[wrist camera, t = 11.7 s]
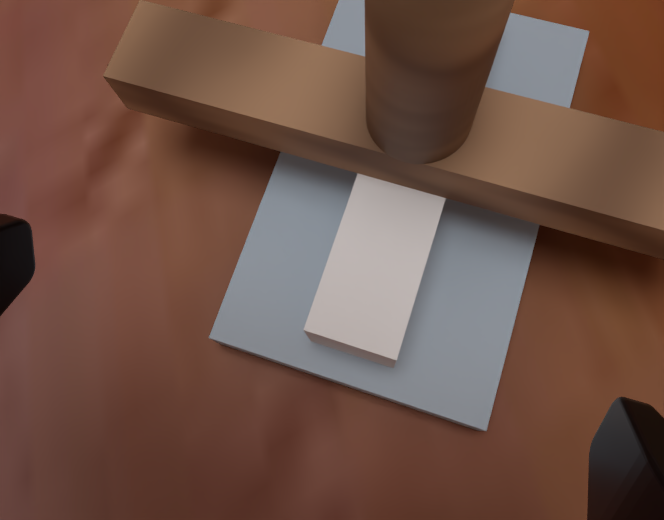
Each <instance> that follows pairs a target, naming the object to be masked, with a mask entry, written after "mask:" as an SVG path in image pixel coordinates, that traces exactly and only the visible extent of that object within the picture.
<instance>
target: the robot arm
mask: <svg viewBox="0 0 664 520" xmlns="http://www.w3.org/2000/svg"><path fill="white" fill-rule="evenodd" d="M34 271H35V257H34V247H33V237H32V230H31V227H30V225H29V223H28V222H27V221H25V220H23V219H20V218H16V217H13V216H10V215H6V214H0V316H1V315H2V314H3V312H4V311H5V310H6V309H7V308H8V306H9V305H10V304H11V303H12V302H13V301H14V299H15V298H16V297H17V296H18V295H19V294H20V292H21V291H22V290H23V289H24V288H25V286H26V285H27V284H28V283H29V282H30V280H31V279H32V277H33V274H34ZM587 520H664V418H663V417H662V416H661V415H660V414H659V413H658V412H657V411H656V410H655V409H654V408H653V407H652V406H651V405H649V404H646V403H643V402H639V401H636V400H632V399H629V398H626V397H619V398H617V399H616V400H615V401H614V402H613V403H612V405H611V407H610V408H609V410H608V412H607V414H606V416H605V418H604V419H603V421H602V423H601V425H600V427H599V429H598V431H597V432H596V434H595V436H594V438H593V440H592V443H591V447H590V453H589V478H588V514H587Z"/></svg>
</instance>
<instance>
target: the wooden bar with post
mask: <svg viewBox="0 0 664 520" xmlns="http://www.w3.org/2000/svg"><path fill="white" fill-rule="evenodd" d="M513 3H514V0H365V56H361V55H357V54H353V53H349V52H345V51H341V50H337V49H333V48H329V47H325V46H321V45H317V44H313V43H309V42H305V41H302V40H298V39H294V38H290V37H286V36H282V35H278V34H274V33H270V32H266V31H262V30H258V29H254V28H250V27H246V26H242V25H238V24H234V23H230V22H226V21H222V20H218V19H214V18H210V17H206V16H203V15H199V14H195V13H191V12H187V11H183V10H179V9H175V8H171V7H167V6H163V5H159V4H155V3H151V2H147V1H143V0H140V1H139V3H138V5H137V7H136V9H135V11H134V13H133V15H132V17H131V19H130V21H129V23H128V25H127V28H126V30H125V32H124V34H123V36H122V38H121V40H120V42H119V44H118V46H117V48H116V50H115V52H114V54H113V56H112V58H111V60H110V63H109V65H108V67H107V69H106V71H105V73H104V75H103V77H104V78H105V79H106V81H107V82H108V83H109V85H110V86H111V87H112V89H113V90H114V91H115V93H116V94H117V95H118V96H119V98H120V99H121V100H122V102H123V103H124V104H125V106H126V107H127V108H128V109H132V110H135V111H139V112H142V113H146V114H149V115H153V116H156V117H160V118H163V119H167V120H171V121H174V122H178V123H181V124H185V125H188V126H192V127H195V128H199V129H202V130H206V131H210V132H213V133H217V134H220V135H224V136H227V137H231V138H234V139H238V140H241V141H245V142H248V143H252V144H256V145H259V146H263V147H266V148H270V149H273V150H277V151H280V152H284V153H287V154H291V155H295V156H298V157H302V158H305V159H309V160H312V161H316V162H319V163H323V164H326V165H330V166H334V167H337V168H341V169H344V170H348V171H351V172H355V173H358V174H362V175H365V176H369V177H372V178H376V179H380V180H383V181H387V182H390V183H394V184H397V185H401V186H404V187H408V188H411V189H415V190H419V191H422V192H426V193H429V194H433V195H436V196H440V197H443V198H447V199H450V200H454V201H458V202H461V203H465V204H468V205H472V206H475V207H479V208H482V209H486V210H489V211H493V212H496V213H500V214H504V215H507V216H511V217H514V218H518V219H521V220H525V221H528V222H532V223H535V224H539V225H543V226H546V227H550V228H553V229H557V230H560V231H564V232H567V233H571V234H574V235H578V236H582V237H585V238H589V239H592V240H596V241H599V242H603V243H606V244H610V245H613V246H617V247H621V248H624V249H628V250H631V251H635V252H638V253H642V254H645V255H649V256H652V257H656V258H659V259H663V260H664V132H662V131H658V130H654V129H650V128H646V127H642V126H638V125H634V124H630V123H626V122H622V121H618V120H614V119H610V118H606V117H602V116H599V115H595V114H591V113H587V112H583V111H579V110H575V109H571V108H567V107H563V106H559V105H555V104H551V103H547V102H543V101H539V100H535V99H531V98H527V97H523V96H519V95H515V94H511V93H507V92H503V91H500V90H496V89H492V88H488V87H485V86H486V83H487V80H488V77H489V74H490V71H491V68H492V65H493V62H494V59H495V56H496V53H497V50H498V47H499V45H500V42H501V39H502V36H503V33H504V30H505V27H506V24H507V21H508V18H509V15H510V12H511V9H512V6H513Z"/></svg>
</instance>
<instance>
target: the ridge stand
mask: <svg viewBox="0 0 664 520" xmlns="http://www.w3.org/2000/svg"><path fill="white" fill-rule="evenodd" d="M588 35H589V31H586V30H582V29H578V28H573V27H569V26H565V25H561V24H556V23H552V22H548V21H543V20H539V19H535V18H530V17H526V16H522V15H518V14H513V13H510V15H509V18H508V21H507V24H506V27H505V30H504V33H503V36H502V39H501V42H500V45H499V47H498V50H497V53H496V56H495V59H494V62H493V65H492V68H491V71H490V74H489V77H488V80H487V83H486V86H485V87H488V88H492V89H496V90H500V91H503V92H507V93H511V94H515V95H519V96H523V97H527V98H531V99H535V100H539V101H543V102H547V103H551V104H555V105H559V106H563V107H567V108H570V105H571V101H572V97H573V93H574V89H575V85H576V81H577V77H578V74H579V70H580V66H581V62H582V58H583V54H584V50H585V46H586V42H587V39H588ZM322 46H325V47H329V48H333V49H337V50H341V51H345V52H349V53H353V54H357V55H361V56H365V0H339V2H338V4H337V7H336V9H335V12H334V15H333V17H332V20H331V22H330V25H329V28H328V30H327V33H326V35H325V38H324V41H323V43H322ZM538 229H539V224H535V223H532V222H528V221H525V220H521V219H518V218H514V217H511V216H507V215H504V214H500V213H496V212H493V211H489V210H486V209H482V208H479V207H475V206H472V205H468V204H465V203H461V202H458V201H454V200H450V199H447V198H443V197H440V196H436V195H433V194H429V193H426V192H422V191H419V190H415V189H411V188H408V187H404V186H401V185H397V184H394V183H390V182H387V181H383V180H380V179H376V178H372V177H369V176H365V175H362V174H358V173H355V172H351V171H348V170H344V169H341V168H337V167H334V166H330V165H326V164H323V163H319V162H316V161H312V160H309V159H305V158H302V157H298V156H295V155H291V154H287V153H284V152H280V154H279V157H278V160H277V162H276V165H275V167H274V170H273V173H272V175H271V178H270V180H269V183H268V186H267V188H266V191H265V193H264V196H263V198H262V201H261V204H260V206H259V209H258V211H257V214H256V217H255V219H254V222H253V224H252V227H251V230H250V232H249V235H248V237H247V240H246V243H245V245H244V248H243V250H242V253H241V255H240V258H239V261H238V263H237V266H236V268H235V271H234V274H233V276H232V279H231V281H230V284H229V287H228V289H227V292H226V294H225V297H224V300H223V302H222V305H221V307H220V310H219V312H218V315H217V318H216V320H215V323H214V325H213V328H212V331H211V333H210V336H209V338H210V339H212V340H214V341H216V342H217V343H219V344H222V345H225V346H228V347H231V348H234V349H237V350H240V351H243V352H246V353H249V354H252V355H255V356H258V357H261V358H264V359H267V360H270V361H273V362H276V363H279V364H281V365H284V366H287V367H290V368H293V369H296V370H299V371H302V372H305V373H308V374H311V375H314V376H317V377H320V378H323V379H326V380H329V381H332V382H335V383H338V384H341V385H344V386H347V387H350V388H353V389H356V390H359V391H362V392H365V393H368V394H371V395H374V396H377V397H380V398H383V399H386V400H389V401H391V402H394V403H397V404H400V405H403V406H406V407H409V408H412V409H415V410H418V411H421V412H424V413H427V414H430V415H433V416H436V417H439V418H442V419H445V420H448V421H451V422H454V423H457V424H460V425H463V426H466V427H469V428H472V429H475V430H478V431H487V427H488V423H489V419H490V415H491V411H492V408H493V404H494V400H495V396H496V392H497V388H498V384H499V380H500V377H501V373H502V369H503V365H504V361H505V357H506V353H507V349H508V345H509V342H510V338H511V334H512V330H513V326H514V322H515V318H516V314H517V310H518V307H519V303H520V299H521V295H522V291H523V287H524V283H525V279H526V276H527V272H528V268H529V264H530V260H531V256H532V252H533V248H534V244H535V241H536V237H537V233H538Z"/></svg>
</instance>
